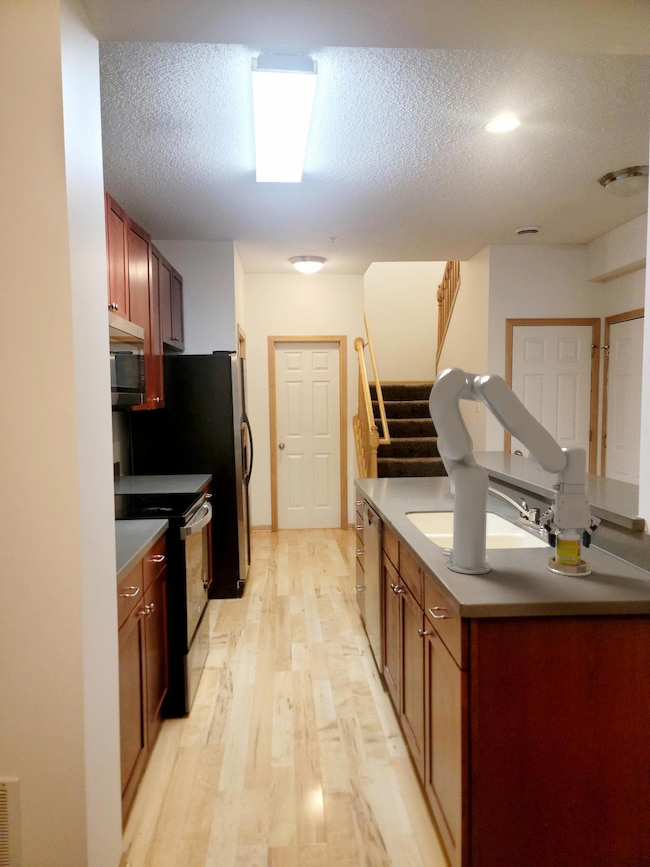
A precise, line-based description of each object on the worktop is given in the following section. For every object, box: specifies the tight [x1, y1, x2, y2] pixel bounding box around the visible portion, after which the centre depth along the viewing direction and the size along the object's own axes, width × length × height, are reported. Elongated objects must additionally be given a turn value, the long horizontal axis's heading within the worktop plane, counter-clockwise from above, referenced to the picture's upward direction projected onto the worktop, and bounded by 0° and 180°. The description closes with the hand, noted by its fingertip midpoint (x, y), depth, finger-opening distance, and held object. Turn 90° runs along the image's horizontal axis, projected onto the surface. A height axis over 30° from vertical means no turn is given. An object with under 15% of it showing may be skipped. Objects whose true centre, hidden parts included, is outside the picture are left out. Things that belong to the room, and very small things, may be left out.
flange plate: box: [546, 555, 592, 578], centre depth 162 cm, size 12×12×3 cm
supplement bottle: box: [555, 528, 582, 566], centre depth 161 cm, size 7×7×13 cm
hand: (569, 546), depth 161 cm, fingers open, 9 cm apart
